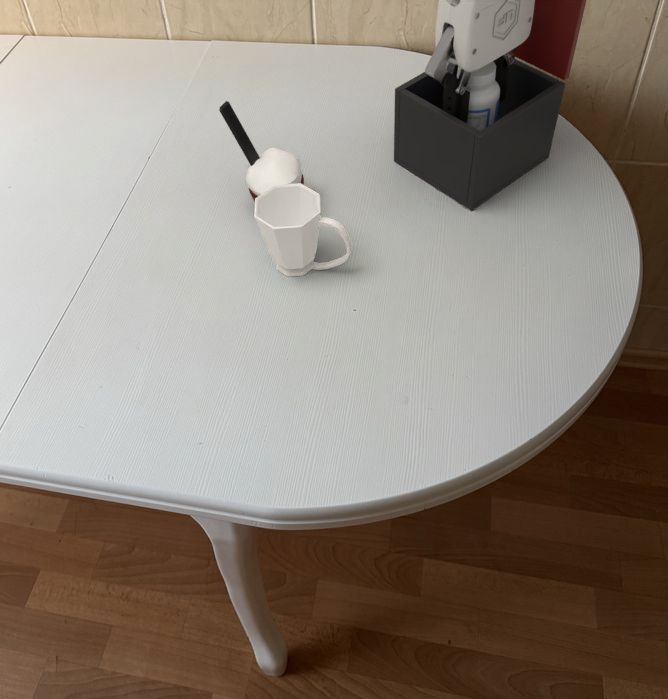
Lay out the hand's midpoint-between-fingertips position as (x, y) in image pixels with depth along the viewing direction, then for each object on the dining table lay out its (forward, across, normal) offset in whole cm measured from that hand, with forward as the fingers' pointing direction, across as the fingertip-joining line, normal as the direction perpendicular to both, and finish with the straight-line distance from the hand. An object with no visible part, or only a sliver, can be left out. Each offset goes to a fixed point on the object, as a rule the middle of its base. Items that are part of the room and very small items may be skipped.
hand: (473, 106), depth 78 cm
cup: (+8, -24, 0) cm, 26 cm away
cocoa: (+8, -21, +11) cm, 25 cm away
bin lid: (-10, +7, 0) cm, 12 cm away
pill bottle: (+5, 0, 0) cm, 5 cm away
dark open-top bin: (+8, +1, 0) cm, 8 cm away
